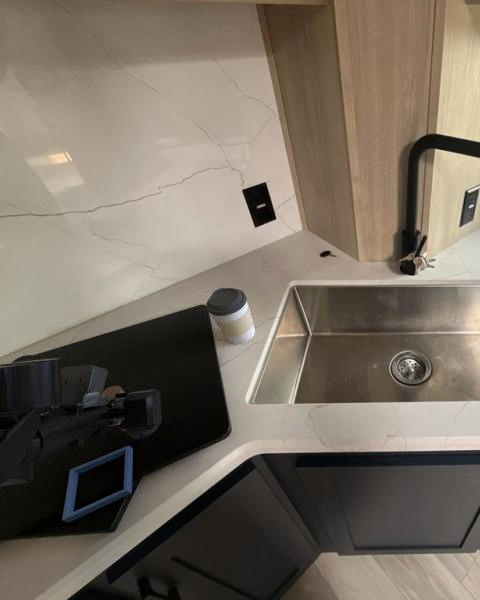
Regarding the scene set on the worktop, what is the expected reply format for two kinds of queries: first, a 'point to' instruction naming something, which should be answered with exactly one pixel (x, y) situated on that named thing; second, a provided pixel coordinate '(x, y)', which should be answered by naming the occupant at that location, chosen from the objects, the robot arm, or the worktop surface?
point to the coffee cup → (231, 314)
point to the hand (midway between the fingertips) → (131, 402)
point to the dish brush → (136, 435)
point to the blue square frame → (71, 495)
